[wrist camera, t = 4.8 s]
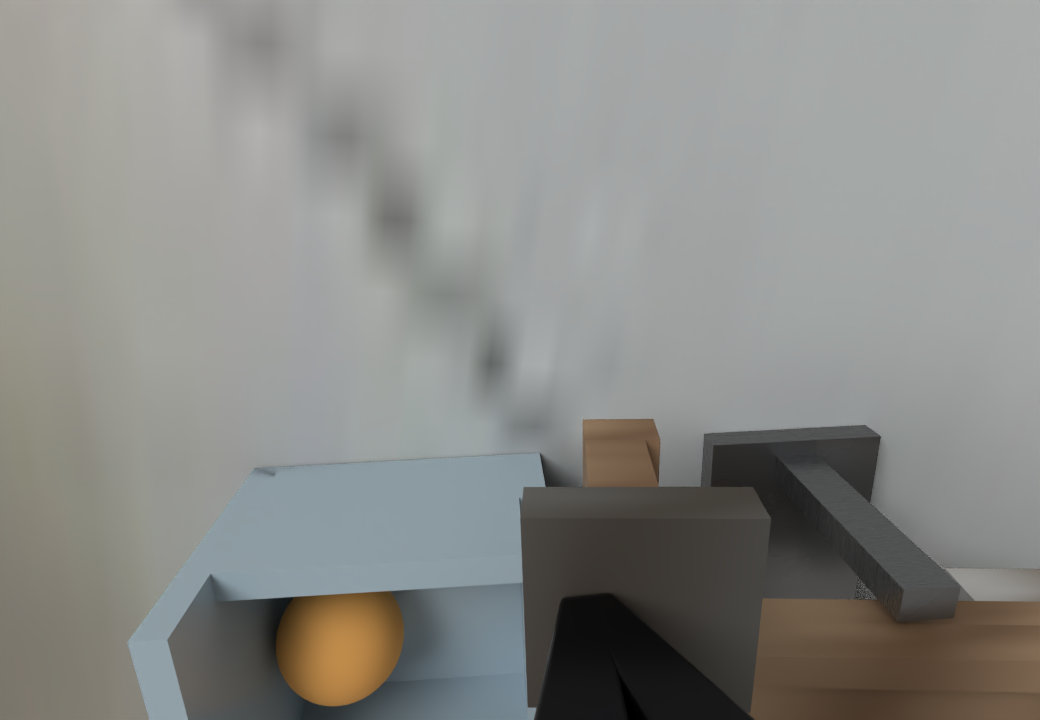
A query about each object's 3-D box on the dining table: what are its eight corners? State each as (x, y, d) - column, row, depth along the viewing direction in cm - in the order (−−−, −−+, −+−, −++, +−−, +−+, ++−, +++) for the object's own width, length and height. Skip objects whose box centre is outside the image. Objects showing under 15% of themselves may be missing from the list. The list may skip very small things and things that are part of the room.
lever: (1201, 338, 14) (1824, 522, 7) (1078, 724, 18) (1412, 1096, 11) (538, 348, 15) (520, 518, 8) (547, 711, 19) (540, 1045, 12)
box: (539, 452, 19) (568, 614, 12) (545, 674, 22) (571, 905, 15) (254, 468, 19) (127, 642, 12) (296, 691, 21) (211, 934, 15)
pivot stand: (865, 425, 19) (1055, 562, 13) (829, 663, 22) (968, 873, 16) (704, 433, 19) (815, 577, 13) (688, 673, 22) (772, 889, 16)
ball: (259, 634, 19) (368, 586, 21) (299, 749, 17) (414, 686, 19) (258, 579, 17) (380, 531, 19) (303, 706, 15) (434, 638, 17)
